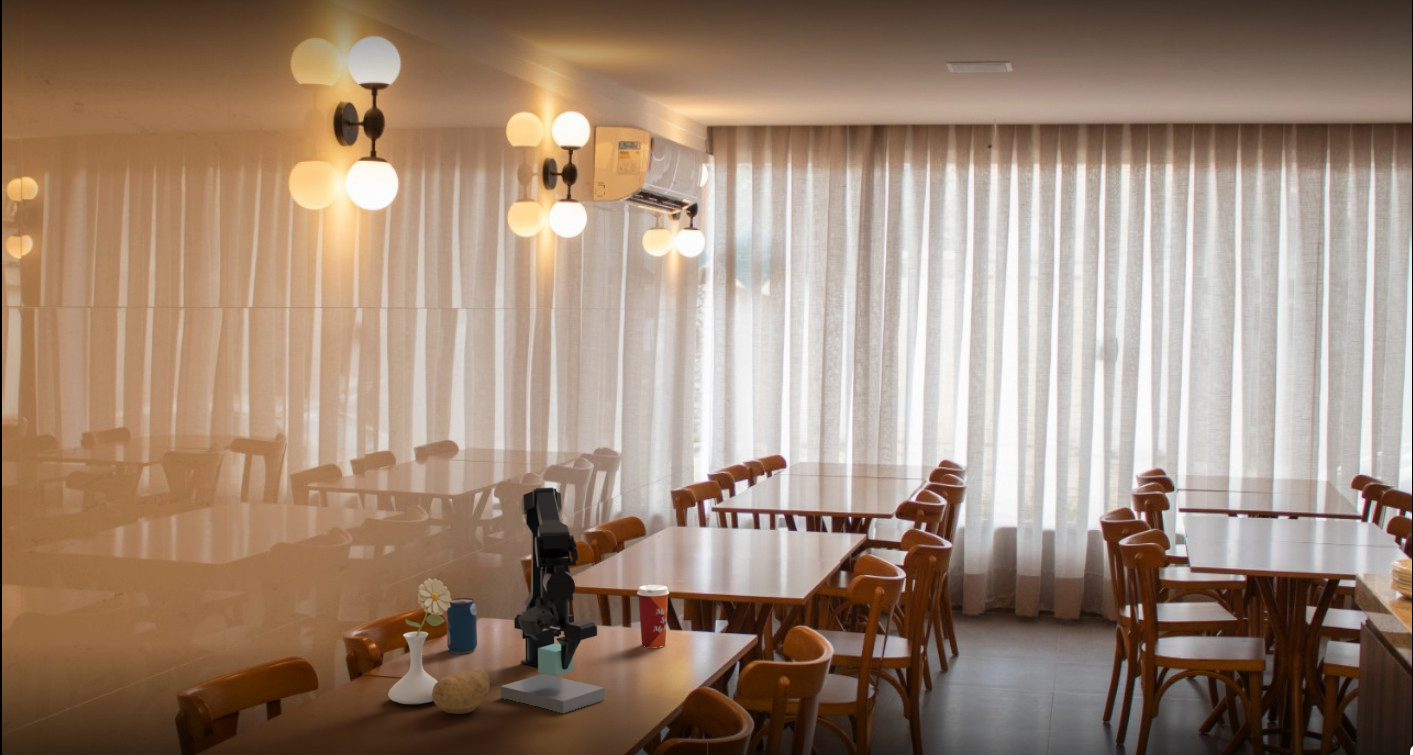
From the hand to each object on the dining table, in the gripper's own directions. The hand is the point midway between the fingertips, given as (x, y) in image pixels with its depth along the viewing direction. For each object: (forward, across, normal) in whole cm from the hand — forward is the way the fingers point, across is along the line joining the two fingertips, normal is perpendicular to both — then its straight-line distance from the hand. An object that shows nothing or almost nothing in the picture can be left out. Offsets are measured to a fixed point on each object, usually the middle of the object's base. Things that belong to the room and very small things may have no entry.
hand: (555, 667), depth 270 cm
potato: (+7, -9, -17) cm, 21 cm away
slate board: (+7, -1, 0) cm, 7 cm away
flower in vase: (+7, -22, -17) cm, 29 cm away
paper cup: (+7, -14, +47) cm, 49 cm away
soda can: (+7, -47, +16) cm, 50 cm away
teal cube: (+1, 0, 0) cm, 1 cm away
